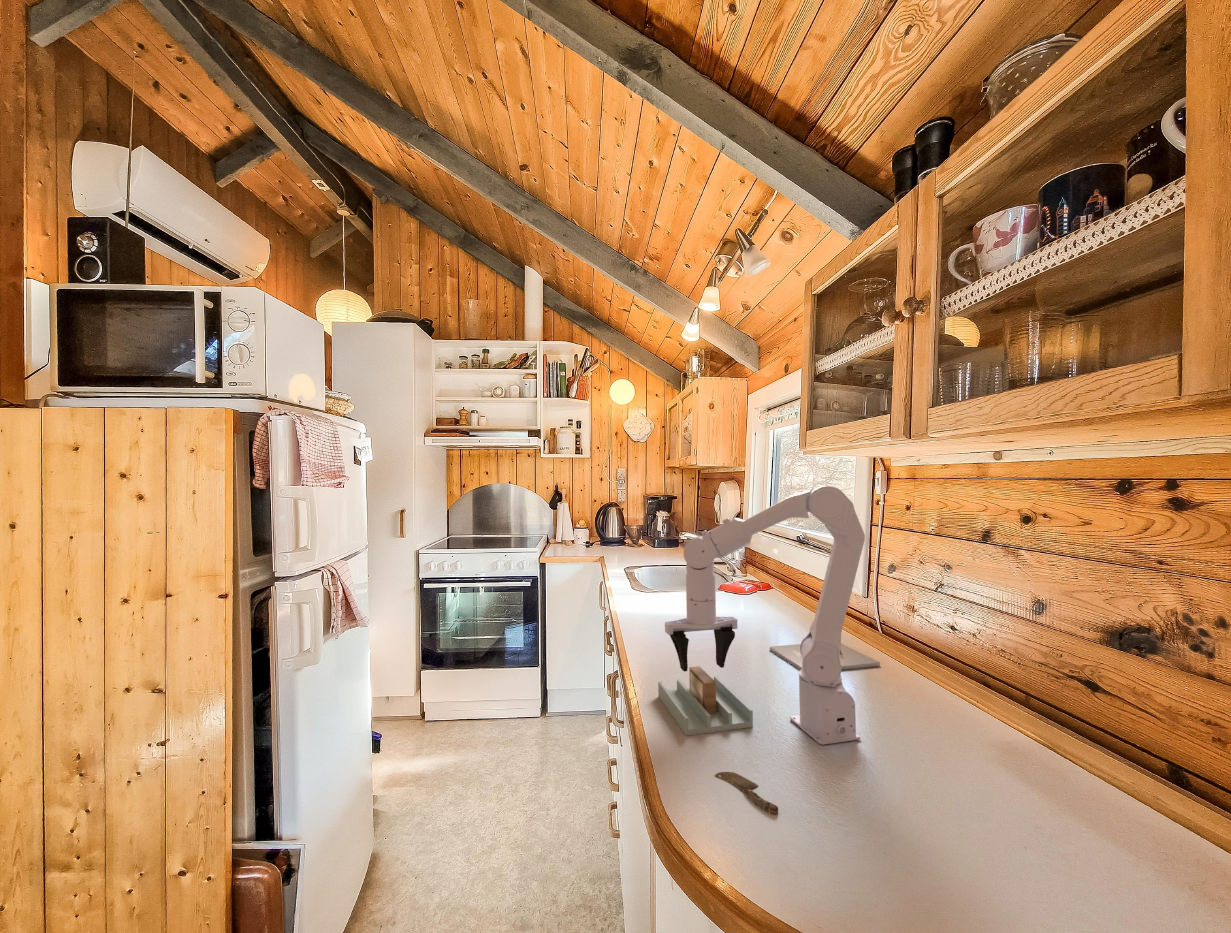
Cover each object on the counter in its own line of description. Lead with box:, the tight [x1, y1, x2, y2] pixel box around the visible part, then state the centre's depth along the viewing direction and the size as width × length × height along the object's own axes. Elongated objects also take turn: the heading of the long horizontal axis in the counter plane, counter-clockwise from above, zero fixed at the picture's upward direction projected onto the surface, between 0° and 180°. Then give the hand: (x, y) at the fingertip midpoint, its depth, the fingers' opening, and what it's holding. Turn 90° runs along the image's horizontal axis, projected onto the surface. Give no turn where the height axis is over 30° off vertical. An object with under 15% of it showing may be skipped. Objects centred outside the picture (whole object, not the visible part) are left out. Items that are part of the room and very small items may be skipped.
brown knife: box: [714, 771, 779, 815], centre depth 70 cm, size 12×1×5 cm
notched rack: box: [657, 675, 754, 737], centre depth 95 cm, size 16×13×3 cm
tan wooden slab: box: [688, 666, 716, 715], centre depth 95 cm, size 8×2×6 cm, turn 12°
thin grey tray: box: [769, 643, 881, 672], centre depth 122 cm, size 16×2×20 cm
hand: (702, 667), depth 95 cm, fingers open, 7 cm apart
